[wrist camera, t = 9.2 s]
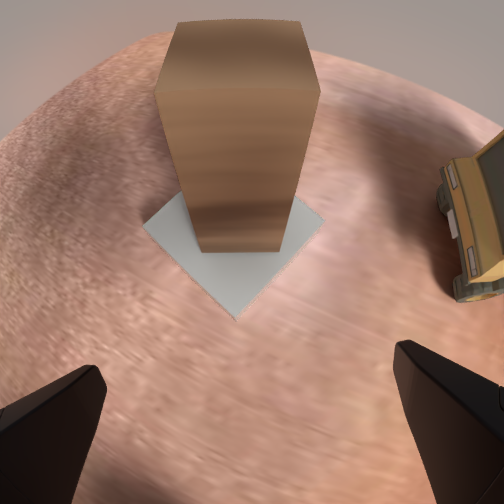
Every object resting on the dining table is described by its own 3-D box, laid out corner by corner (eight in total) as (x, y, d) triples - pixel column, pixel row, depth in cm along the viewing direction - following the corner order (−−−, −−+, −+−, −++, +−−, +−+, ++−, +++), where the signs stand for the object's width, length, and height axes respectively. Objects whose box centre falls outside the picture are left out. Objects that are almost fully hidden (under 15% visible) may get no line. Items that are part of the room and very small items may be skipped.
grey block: (236, 322, 22) (234, 317, 19) (153, 241, 24) (142, 226, 21) (316, 236, 25) (325, 220, 22) (233, 168, 26) (231, 147, 23)
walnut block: (279, 252, 21) (320, 91, 8) (201, 252, 20) (153, 92, 8) (275, 187, 22) (299, 21, 10) (205, 187, 22) (178, 22, 10)
